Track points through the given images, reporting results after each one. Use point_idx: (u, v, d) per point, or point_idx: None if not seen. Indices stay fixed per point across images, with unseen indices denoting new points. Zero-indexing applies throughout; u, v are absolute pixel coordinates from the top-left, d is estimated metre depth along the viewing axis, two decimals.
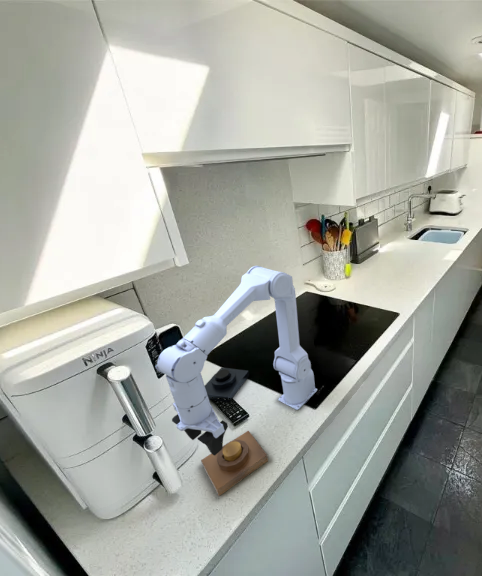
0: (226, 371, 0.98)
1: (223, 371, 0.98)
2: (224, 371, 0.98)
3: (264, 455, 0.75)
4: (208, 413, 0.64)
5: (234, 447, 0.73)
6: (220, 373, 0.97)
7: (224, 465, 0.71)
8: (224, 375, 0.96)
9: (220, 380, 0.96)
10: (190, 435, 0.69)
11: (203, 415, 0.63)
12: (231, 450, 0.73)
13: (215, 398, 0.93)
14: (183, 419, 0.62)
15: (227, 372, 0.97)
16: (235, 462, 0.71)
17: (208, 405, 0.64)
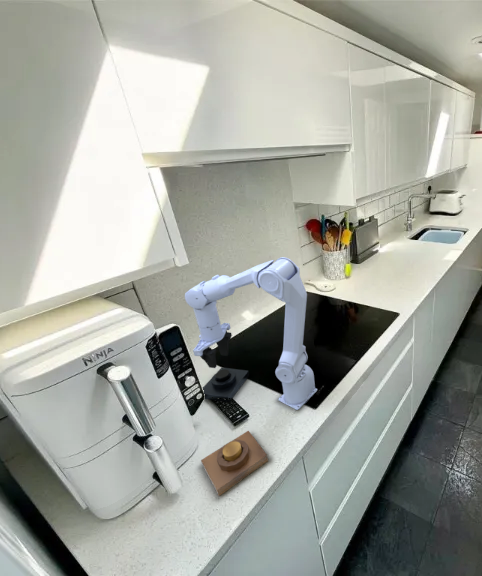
0: (226, 371, 0.98)
1: (223, 371, 0.98)
2: (224, 371, 0.98)
3: (264, 455, 0.75)
4: (209, 339, 0.88)
5: (234, 447, 0.73)
6: (220, 373, 0.97)
7: (224, 465, 0.71)
8: (224, 375, 0.96)
9: (220, 380, 0.96)
10: (219, 350, 0.97)
11: (205, 337, 0.88)
12: (231, 450, 0.73)
13: (215, 398, 0.93)
14: None
15: (227, 372, 0.97)
16: (235, 462, 0.71)
17: (211, 334, 0.88)
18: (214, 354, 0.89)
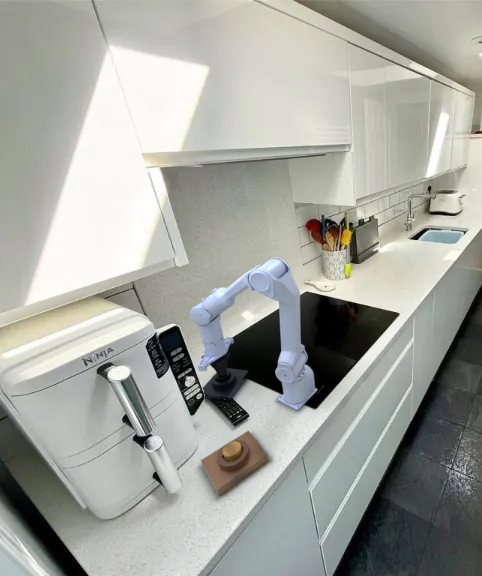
0: None
1: None
2: None
3: (264, 455, 0.75)
4: (213, 354, 0.90)
5: (234, 447, 0.73)
6: None
7: (224, 465, 0.71)
8: (224, 376, 0.96)
9: (220, 381, 0.96)
10: None
11: (209, 353, 0.90)
12: (231, 450, 0.73)
13: (215, 398, 0.93)
14: None
15: (227, 373, 0.98)
16: (235, 462, 0.71)
17: (215, 349, 0.90)
18: (223, 363, 0.94)
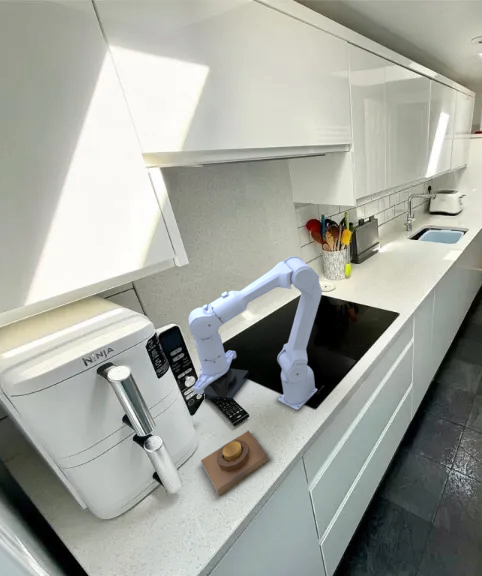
0: None
1: None
2: None
3: (264, 455, 0.75)
4: (212, 373, 0.75)
5: (234, 447, 0.73)
6: None
7: (224, 465, 0.71)
8: None
9: None
10: None
11: (206, 371, 0.75)
12: (231, 450, 0.73)
13: (215, 398, 0.93)
14: None
15: None
16: (235, 462, 0.71)
17: (214, 368, 0.75)
18: (224, 383, 0.78)
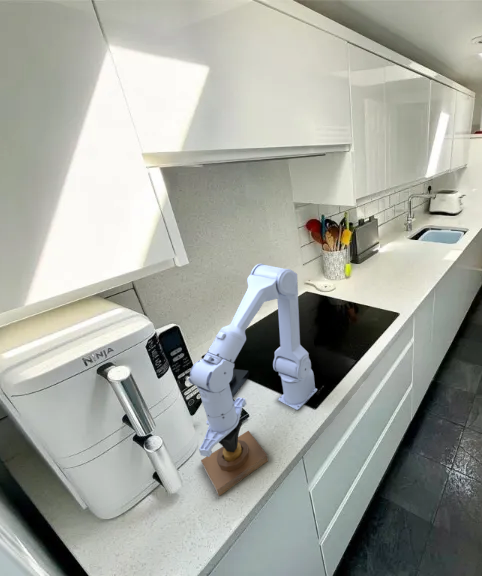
0: None
1: None
2: None
3: (264, 455, 0.75)
4: (220, 430, 0.67)
5: None
6: None
7: (224, 465, 0.71)
8: None
9: None
10: None
11: (214, 428, 0.66)
12: None
13: None
14: None
15: None
16: (235, 462, 0.71)
17: (222, 424, 0.66)
18: (233, 437, 0.70)
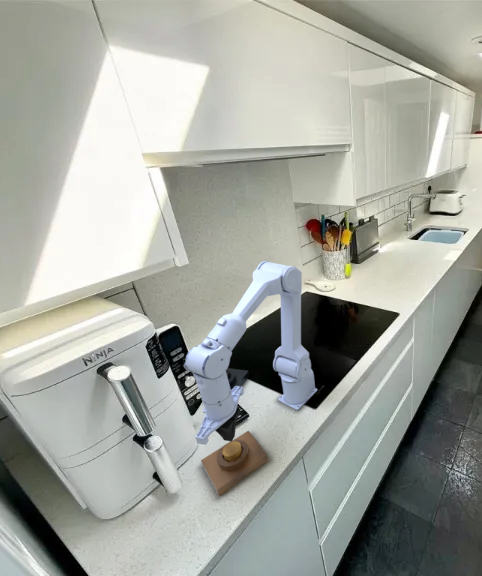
0: (226, 371, 0.98)
1: None
2: None
3: (264, 455, 0.75)
4: (217, 417, 0.65)
5: (234, 447, 0.73)
6: None
7: (224, 465, 0.71)
8: None
9: None
10: None
11: (211, 415, 0.65)
12: (231, 450, 0.73)
13: None
14: None
15: (227, 372, 0.97)
16: (235, 462, 0.71)
17: (219, 411, 0.65)
18: (231, 426, 0.69)
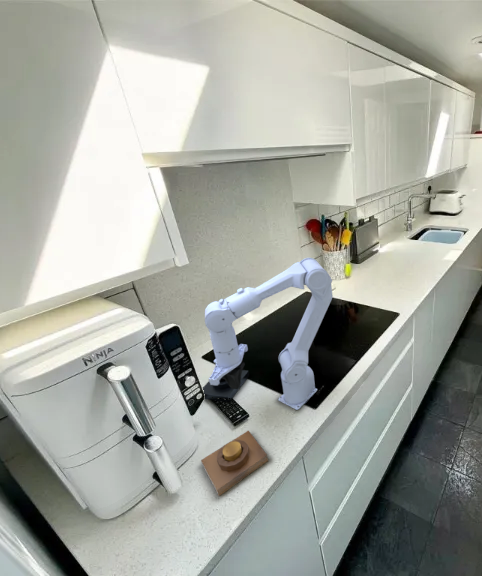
0: None
1: None
2: None
3: (264, 455, 0.75)
4: (226, 365, 0.78)
5: (234, 447, 0.73)
6: None
7: (224, 465, 0.71)
8: None
9: (220, 380, 0.96)
10: None
11: (221, 363, 0.78)
12: (231, 450, 0.73)
13: (215, 398, 0.93)
14: None
15: None
16: (235, 462, 0.71)
17: (228, 360, 0.78)
18: (237, 374, 0.81)
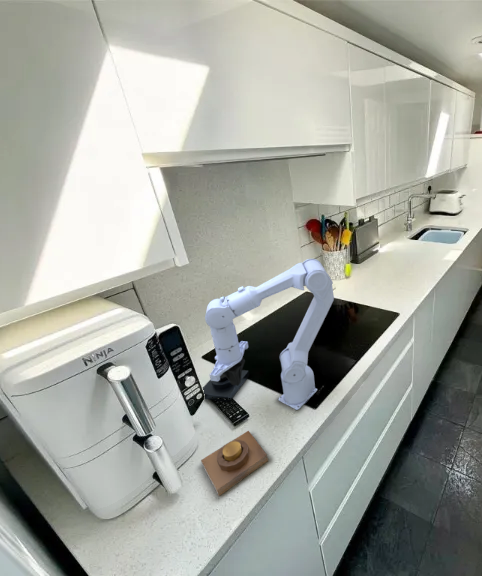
0: None
1: None
2: None
3: (264, 455, 0.75)
4: (227, 362, 0.79)
5: (234, 447, 0.73)
6: None
7: (224, 465, 0.71)
8: (224, 375, 0.96)
9: (220, 380, 0.96)
10: None
11: (222, 360, 0.79)
12: (231, 450, 0.73)
13: (215, 398, 0.93)
14: None
15: None
16: (235, 462, 0.71)
17: (229, 356, 0.79)
18: (238, 371, 0.82)
